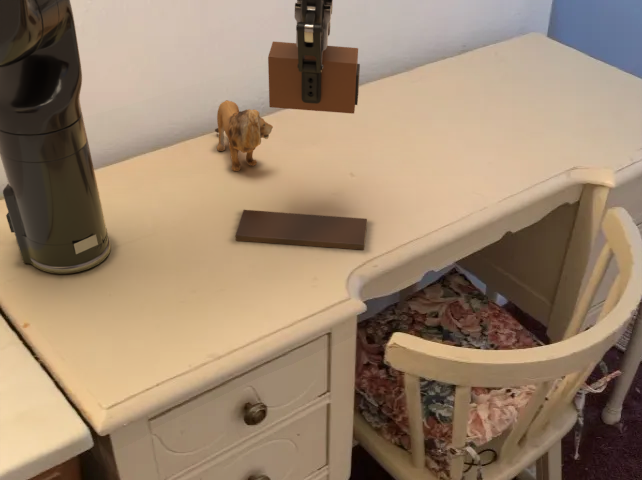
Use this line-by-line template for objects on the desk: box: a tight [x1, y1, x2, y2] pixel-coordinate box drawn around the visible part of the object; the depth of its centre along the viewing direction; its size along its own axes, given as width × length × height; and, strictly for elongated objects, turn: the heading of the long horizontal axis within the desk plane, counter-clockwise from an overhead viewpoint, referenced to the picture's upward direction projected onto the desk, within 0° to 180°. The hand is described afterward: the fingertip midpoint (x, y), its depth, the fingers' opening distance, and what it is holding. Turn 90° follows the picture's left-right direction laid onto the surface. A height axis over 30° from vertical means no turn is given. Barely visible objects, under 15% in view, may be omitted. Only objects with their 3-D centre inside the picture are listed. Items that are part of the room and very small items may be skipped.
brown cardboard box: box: [267, 41, 361, 115], centre depth 98 cm, size 4×10×6 cm, turn 89°
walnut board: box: [234, 209, 368, 251], centre depth 105 cm, size 16×6×1 cm, turn 87°
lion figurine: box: [214, 100, 274, 172], centre depth 116 cm, size 15×5×9 cm, turn 33°
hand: (313, 91), depth 99 cm, fingers closed on brown cardboard box, 4 cm apart
